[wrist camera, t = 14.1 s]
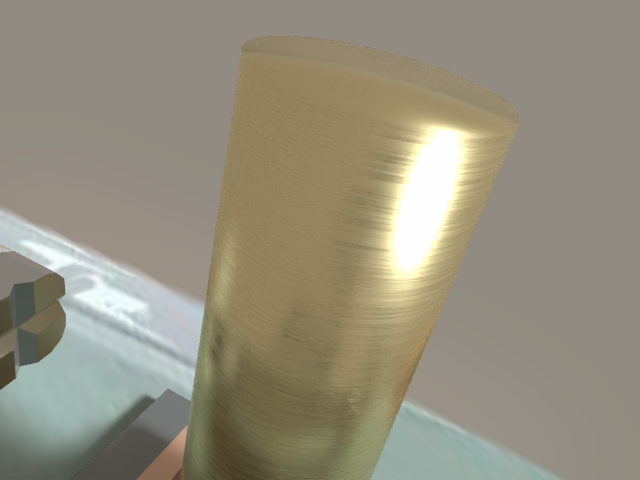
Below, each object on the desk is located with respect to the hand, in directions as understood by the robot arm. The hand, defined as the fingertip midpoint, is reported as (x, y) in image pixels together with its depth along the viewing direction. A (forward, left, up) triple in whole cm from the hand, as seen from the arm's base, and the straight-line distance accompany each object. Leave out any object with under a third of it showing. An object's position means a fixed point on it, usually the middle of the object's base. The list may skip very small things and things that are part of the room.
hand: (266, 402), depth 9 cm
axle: (+1, -1, -11) cm, 11 cm away
